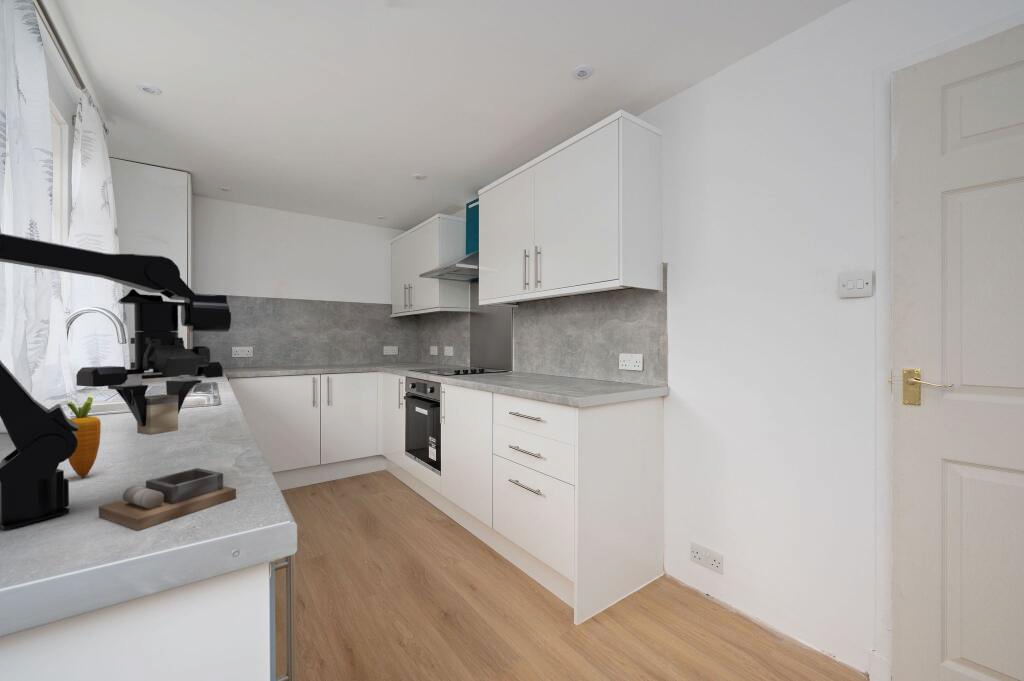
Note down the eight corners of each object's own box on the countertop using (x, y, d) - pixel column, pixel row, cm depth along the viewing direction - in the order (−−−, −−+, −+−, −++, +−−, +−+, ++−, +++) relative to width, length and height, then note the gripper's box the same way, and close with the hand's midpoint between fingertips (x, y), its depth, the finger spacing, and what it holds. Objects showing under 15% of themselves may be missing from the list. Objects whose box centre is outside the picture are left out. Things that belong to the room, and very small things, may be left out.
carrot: (66, 483, 77) (65, 400, 77) (62, 478, 80) (61, 398, 80) (104, 476, 81) (103, 397, 81) (98, 471, 84) (97, 395, 84)
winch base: (138, 530, 58) (137, 500, 58) (98, 516, 62) (98, 489, 62) (236, 498, 69) (235, 473, 69) (196, 488, 74) (196, 465, 74)
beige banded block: (150, 435, 70) (150, 398, 70) (136, 433, 72) (136, 397, 72) (178, 430, 74) (178, 395, 74) (165, 428, 75) (164, 394, 75)
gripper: (112, 330, 61) (113, 440, 61) (242, 331, 78) (243, 417, 78) (74, 331, 65) (75, 433, 65) (204, 332, 82) (205, 413, 82)
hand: (158, 423), depth 73 cm, fingers closed on beige banded block, 4 cm apart
